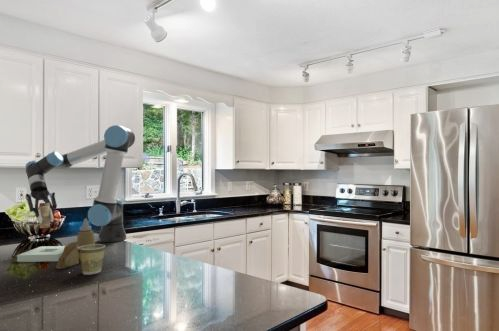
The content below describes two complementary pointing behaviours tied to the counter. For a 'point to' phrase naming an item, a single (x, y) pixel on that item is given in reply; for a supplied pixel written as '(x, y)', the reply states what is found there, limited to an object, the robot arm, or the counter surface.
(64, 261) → the rock
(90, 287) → the counter surface
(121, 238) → the robot arm
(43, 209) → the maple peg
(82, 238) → the squeeze bottle
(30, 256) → the socket board
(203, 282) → the counter surface
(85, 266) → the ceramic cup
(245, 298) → the counter surface
